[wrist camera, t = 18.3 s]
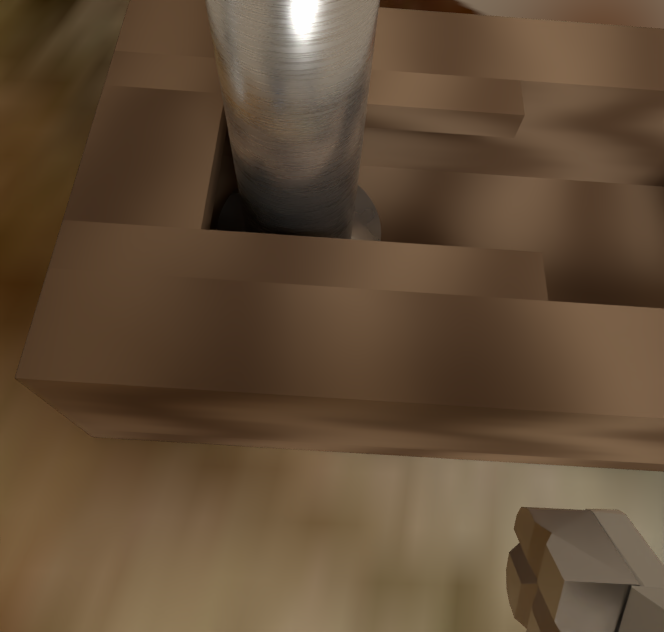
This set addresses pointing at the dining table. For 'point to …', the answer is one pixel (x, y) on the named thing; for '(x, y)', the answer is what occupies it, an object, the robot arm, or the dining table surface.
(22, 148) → the dining table surface
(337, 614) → the dining table surface
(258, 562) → the dining table surface
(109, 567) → the dining table surface
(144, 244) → the wooden compartment tray
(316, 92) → the steel peg
